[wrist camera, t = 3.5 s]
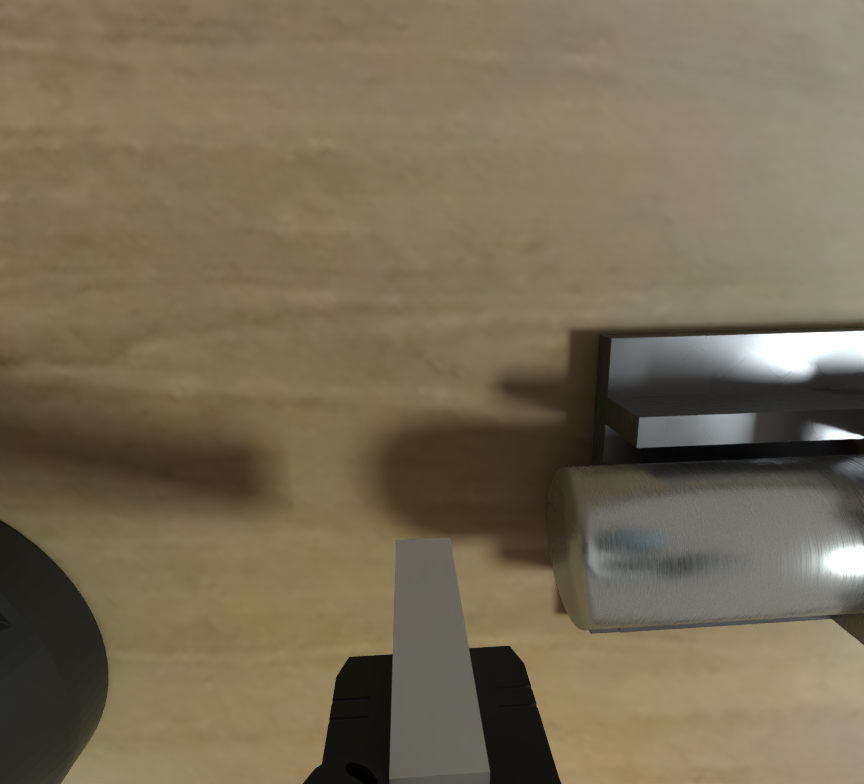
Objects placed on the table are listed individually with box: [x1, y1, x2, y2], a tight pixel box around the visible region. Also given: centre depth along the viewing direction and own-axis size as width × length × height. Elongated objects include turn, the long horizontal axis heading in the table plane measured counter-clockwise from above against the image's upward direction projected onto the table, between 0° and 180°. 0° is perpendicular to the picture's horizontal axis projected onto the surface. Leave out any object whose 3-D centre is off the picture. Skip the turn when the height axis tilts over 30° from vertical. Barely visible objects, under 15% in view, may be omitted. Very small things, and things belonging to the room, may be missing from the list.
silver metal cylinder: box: [547, 454, 864, 630], centre depth 16 cm, size 14×5×5 cm, turn 91°
